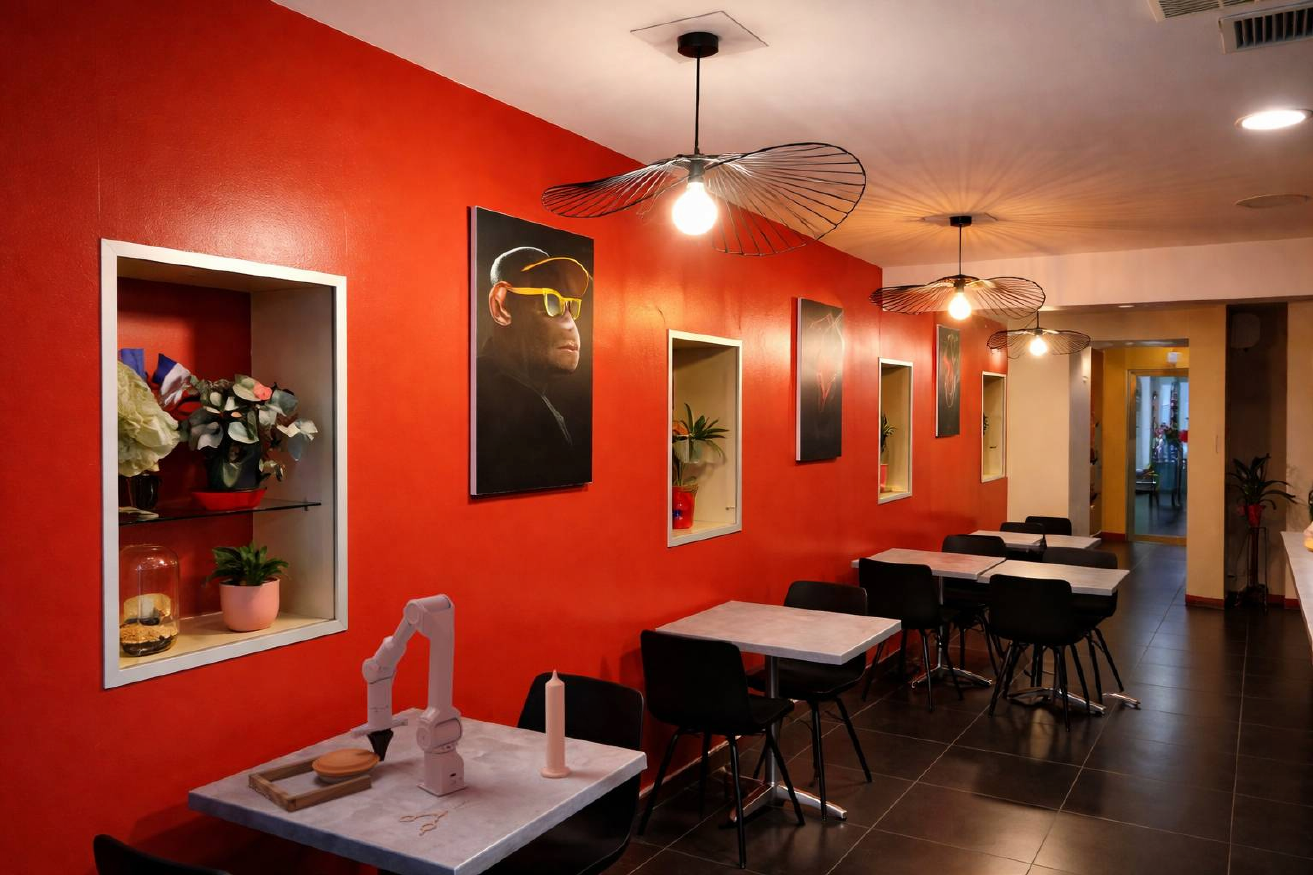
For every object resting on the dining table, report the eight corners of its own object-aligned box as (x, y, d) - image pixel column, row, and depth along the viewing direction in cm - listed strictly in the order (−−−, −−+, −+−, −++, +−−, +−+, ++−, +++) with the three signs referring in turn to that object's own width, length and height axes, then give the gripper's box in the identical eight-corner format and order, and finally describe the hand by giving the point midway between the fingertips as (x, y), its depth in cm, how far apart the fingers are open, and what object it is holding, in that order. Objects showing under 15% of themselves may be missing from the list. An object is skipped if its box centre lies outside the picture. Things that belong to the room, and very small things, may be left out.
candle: (562, 779, 222) (562, 674, 222) (535, 776, 225) (535, 672, 225) (574, 769, 229) (574, 667, 229) (548, 766, 231) (547, 665, 231)
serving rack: (371, 787, 219) (371, 776, 219) (289, 811, 205) (289, 800, 205) (327, 763, 234) (327, 753, 234) (248, 785, 220) (248, 774, 220)
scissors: (389, 820, 199) (464, 791, 215) (389, 824, 199) (464, 794, 215) (420, 834, 192) (495, 803, 208) (420, 838, 192) (495, 806, 208)
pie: (298, 778, 224) (298, 757, 224) (354, 759, 237) (353, 740, 237) (337, 793, 215) (337, 771, 215) (393, 773, 227) (392, 752, 227)
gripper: (397, 696, 240) (398, 749, 240) (344, 708, 230) (344, 763, 230) (412, 701, 235) (412, 755, 235) (358, 714, 225) (358, 771, 225)
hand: (380, 760), depth 232 cm, fingers closed
